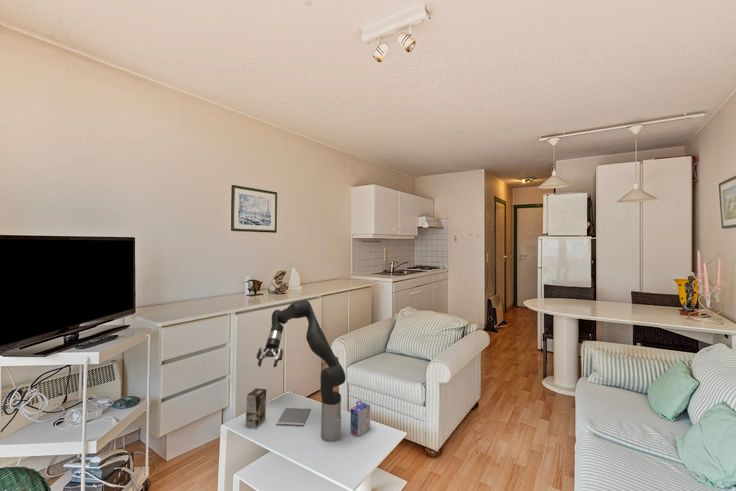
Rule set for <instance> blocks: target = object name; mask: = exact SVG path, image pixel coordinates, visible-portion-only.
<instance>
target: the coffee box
mask: <svg viewBox="0 0 736 491" xmlns="http://www.w3.org/2000/svg"><path fill="white" fill-rule="evenodd" d="M266 408H267V389H266V388H256V387H255V388H254V389H253V390H252V391H250V392H249V393H247V394H246V409H245V427H246V428H250V429H251V428H252V429H257V428H259V427H260V426H261V424H263V422H265V421H266V412H267V410H266Z"/></svg>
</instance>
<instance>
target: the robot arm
mask: <svg viewBox="0 0 736 491" xmlns="http://www.w3.org/2000/svg"><path fill="white" fill-rule="evenodd" d="M301 318H306V319H307V321H308V325H307V331H306V335H305V337H306V342H307V344H308V346H309V348H310V350H311V351H312V352H313V353H314V355H316V356H317V357H319V358H320V359H321V360H323V361H324V362H325V364H326V365H327V366H328V367H326V368H323V369H322V371H321V372H320V396H321V414H320V415H321V417H320V418H321V419H320V425H321V426H320V438H321V439H322V441H325V442H336V441H340V438H341V434H342V432H341V431H342V413H341V412H342V411H341V409H342V394H341V393H340V392H338V391H335V390H334V388H336V387H339V386H341V385H342V384H344V383H345V382H346V373H345V371H344V368H343V366H342V365H341V363H340V362H339V360H338V358H337V357H336V355H335V353H334V352H333V349H332V348H331V346H330V344H329V342H328V340H327V337H326V336H325V334H324V331H323V329H322V328H321V327H320V324H319V322H318V320H317V317H316V315H315V312H314V309H313V307H312V304H311V303H310V301H308V300H307V299H301V300H297V301H294V302H291V303H290V305H288V307H286V308H284V309H282V310H280V309H275V310H273V311H272V314H271V327H270V331H269V334H268V337H267V339H266V344H265V347H264V348H262V347H259V349H258V351H257V353H256V356H255V358H256V359H257V360H258V361H257V366H258V367H259V368H261V366H262V364H263V360H264V359H266V358H270V357H271V358H273V357H274V362H273V367H274V368H277V366H278V363H279V361H283V360H282V359H283V357H284V349H283V348H280V343H281V341H282V334H283V331H284V326H283V325H285V324H287V323H288V321H290V320H292V319H301ZM279 348H280V349H279ZM278 353H279V356H277V354H278Z"/></svg>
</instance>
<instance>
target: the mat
mask: <svg viewBox="0 0 736 491" xmlns="http://www.w3.org/2000/svg"><path fill="white" fill-rule="evenodd" d="M311 410H312V407H296V406H286V407H285V409H284V410H283V412H282V413H281V415H280V417H279V419H278V420H277V421H276V426H281V427H282V426H285V427H304V426H305V424H306V422H307V420H308V417H309V416H310V413H311Z"/></svg>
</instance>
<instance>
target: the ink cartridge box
mask: <svg viewBox="0 0 736 491" xmlns="http://www.w3.org/2000/svg"><path fill="white" fill-rule="evenodd" d="M355 404H356V405H355V406H353V407H352V408H350V434H351V435H353V436H355V437H356V438H358V437H360V436H361V435H363V434H365V433H367V432H368V431H370V430H371V404H368V403H366V402H364V401H362V400H361V399H359V400H357V401H356V402H355Z"/></svg>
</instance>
